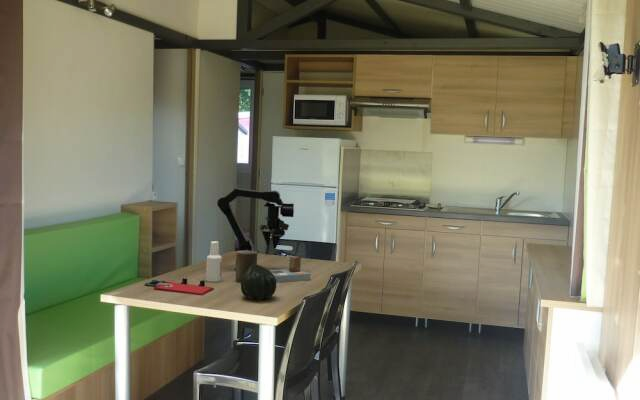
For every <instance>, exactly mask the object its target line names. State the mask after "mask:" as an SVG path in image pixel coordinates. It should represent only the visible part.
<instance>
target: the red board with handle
mask: <svg viewBox="0 0 640 400" xmlns="http://www.w3.org/2000/svg"><path fill="white" fill-rule="evenodd" d="M205 282H206V280H199V284H198V285H197V284H190V283H189V284H188V278H182V280H181V282H180V283H179V282H173V281H171V282H170V281H165V280H159V279H158V280H157V279H151V280H150V281H148V282H146V283H144V285H148V286H154V287H153V290H154V291H160V292H161V291H162V292H170V293H177V294H178V293H180V294H188V295H196V296H204V295H206V294H208V293H210V292H213V291H214V290H215V288H214V287H211V286H205V285H206V283H205Z"/></svg>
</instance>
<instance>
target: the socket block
mask: <svg viewBox="0 0 640 400" xmlns="http://www.w3.org/2000/svg"><path fill="white" fill-rule="evenodd" d="M269 270H270V271H271V272H272V273H273V275H274V276H275V278H276V284H277V283H288V282H290V283H291V282H302V281H303V282H304V281H311V273H309V272H307V271H305V270H302V269H300V272H293V273H292V272H290V271H289V268H288V269H287V268H285V269H283V268H282V269H269Z"/></svg>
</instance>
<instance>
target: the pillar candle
mask: <svg viewBox="0 0 640 400" xmlns="http://www.w3.org/2000/svg"><path fill="white" fill-rule="evenodd" d="M236 255H237V257H235V268H236V270H235V282H238V283H241V281H242V279H243V276H244V274H245V273H246V272H247V270H248V269H249V268H250V266H251V265H252V264H257V265H258V251H255V250H253V251H248V250H243V251H240V250H237V251H236Z"/></svg>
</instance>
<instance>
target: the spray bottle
mask: <svg viewBox="0 0 640 400" xmlns="http://www.w3.org/2000/svg"><path fill="white" fill-rule="evenodd" d="M209 249H210V250H209V255H207V256H206V265H205V266H206V267H205V270H206V271H205V281H206V282H209V283H210V282H211V283H217V282H221V281H222V266H223V265H222V263H223V262H222V261H223V257H222V256H221V255H220V245H219V241H215V240H213V241H212V240H211V242H210V247H209Z"/></svg>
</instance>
